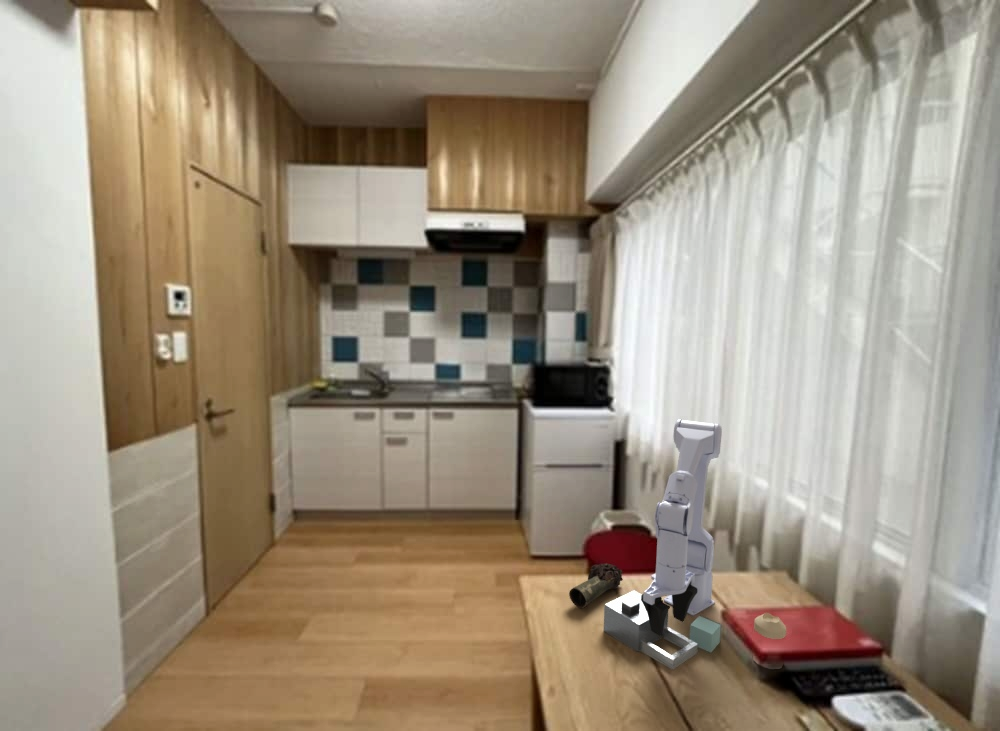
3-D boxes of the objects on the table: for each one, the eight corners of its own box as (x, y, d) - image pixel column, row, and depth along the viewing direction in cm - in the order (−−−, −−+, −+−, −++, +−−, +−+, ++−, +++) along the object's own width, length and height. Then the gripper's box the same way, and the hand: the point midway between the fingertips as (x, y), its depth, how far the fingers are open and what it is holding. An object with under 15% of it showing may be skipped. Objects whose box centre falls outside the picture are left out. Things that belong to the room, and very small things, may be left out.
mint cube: (689, 645, 106) (698, 635, 109) (710, 655, 103) (720, 644, 106) (690, 624, 105) (700, 615, 109) (712, 634, 102) (721, 624, 106)
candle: (746, 655, 103) (750, 608, 102) (774, 656, 103) (777, 609, 102) (759, 674, 97) (763, 624, 96) (788, 675, 97) (792, 626, 96)
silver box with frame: (641, 611, 118) (642, 579, 117) (707, 648, 105) (709, 613, 104) (603, 630, 110) (605, 597, 109) (669, 673, 97) (671, 636, 96)
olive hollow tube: (585, 612, 116) (587, 588, 115) (561, 599, 120) (563, 576, 120) (625, 586, 128) (627, 565, 128) (603, 576, 133) (604, 555, 133)
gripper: (675, 544, 109) (671, 604, 110) (631, 563, 100) (628, 628, 101) (705, 557, 103) (701, 620, 105) (662, 578, 95) (658, 647, 96)
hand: (667, 625), depth 103 cm, fingers open, 7 cm apart
